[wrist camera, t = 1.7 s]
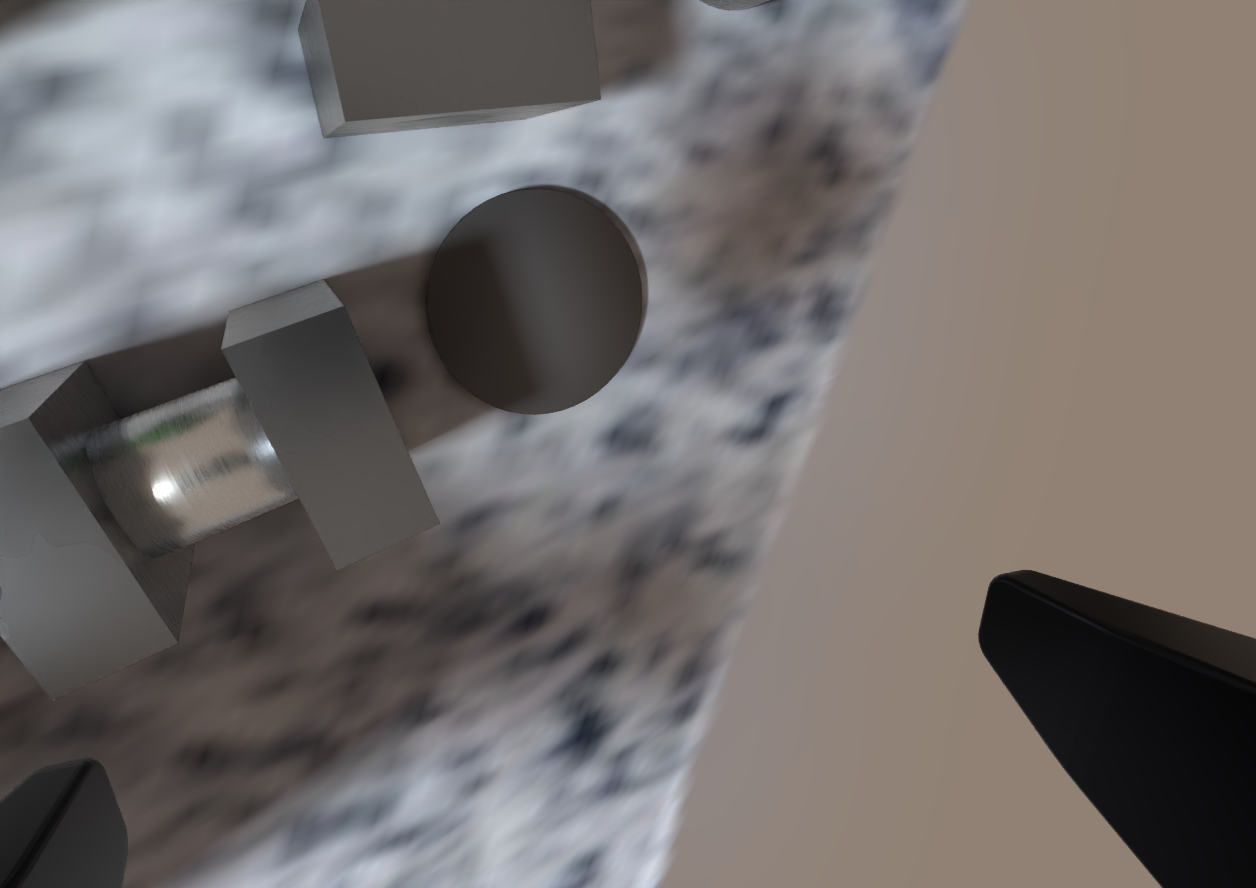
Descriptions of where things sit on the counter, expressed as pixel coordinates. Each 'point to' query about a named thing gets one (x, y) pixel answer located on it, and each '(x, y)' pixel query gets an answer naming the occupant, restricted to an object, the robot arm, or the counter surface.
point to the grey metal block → (188, 484)
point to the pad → (534, 301)
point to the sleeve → (734, 4)
